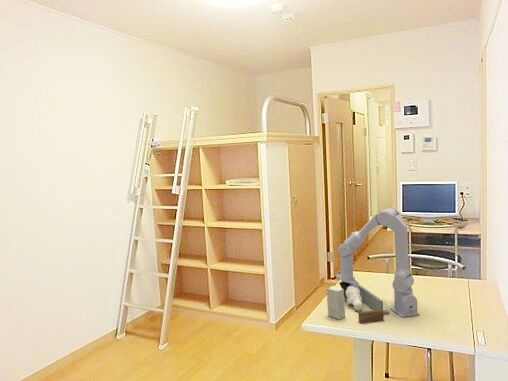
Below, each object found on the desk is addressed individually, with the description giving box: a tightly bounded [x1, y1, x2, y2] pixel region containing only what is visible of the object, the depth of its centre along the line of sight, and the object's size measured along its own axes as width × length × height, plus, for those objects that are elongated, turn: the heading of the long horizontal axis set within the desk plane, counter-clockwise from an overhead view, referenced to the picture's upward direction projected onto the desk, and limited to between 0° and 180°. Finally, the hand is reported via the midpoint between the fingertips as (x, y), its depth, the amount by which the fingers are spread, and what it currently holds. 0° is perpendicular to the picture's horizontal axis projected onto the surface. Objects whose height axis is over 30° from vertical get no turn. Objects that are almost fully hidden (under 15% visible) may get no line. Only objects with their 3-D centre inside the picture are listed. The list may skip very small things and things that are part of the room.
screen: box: [358, 284, 390, 316], centre depth 176 cm, size 22×4×6 cm, turn 11°
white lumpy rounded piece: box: [345, 285, 364, 312], centre depth 175 cm, size 6×8×12 cm
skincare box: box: [326, 285, 346, 320], centre depth 165 cm, size 6×4×12 cm
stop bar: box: [357, 309, 384, 324], centre depth 160 cm, size 2×10×4 cm, turn 101°
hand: (347, 297), depth 184 cm, fingers closed
